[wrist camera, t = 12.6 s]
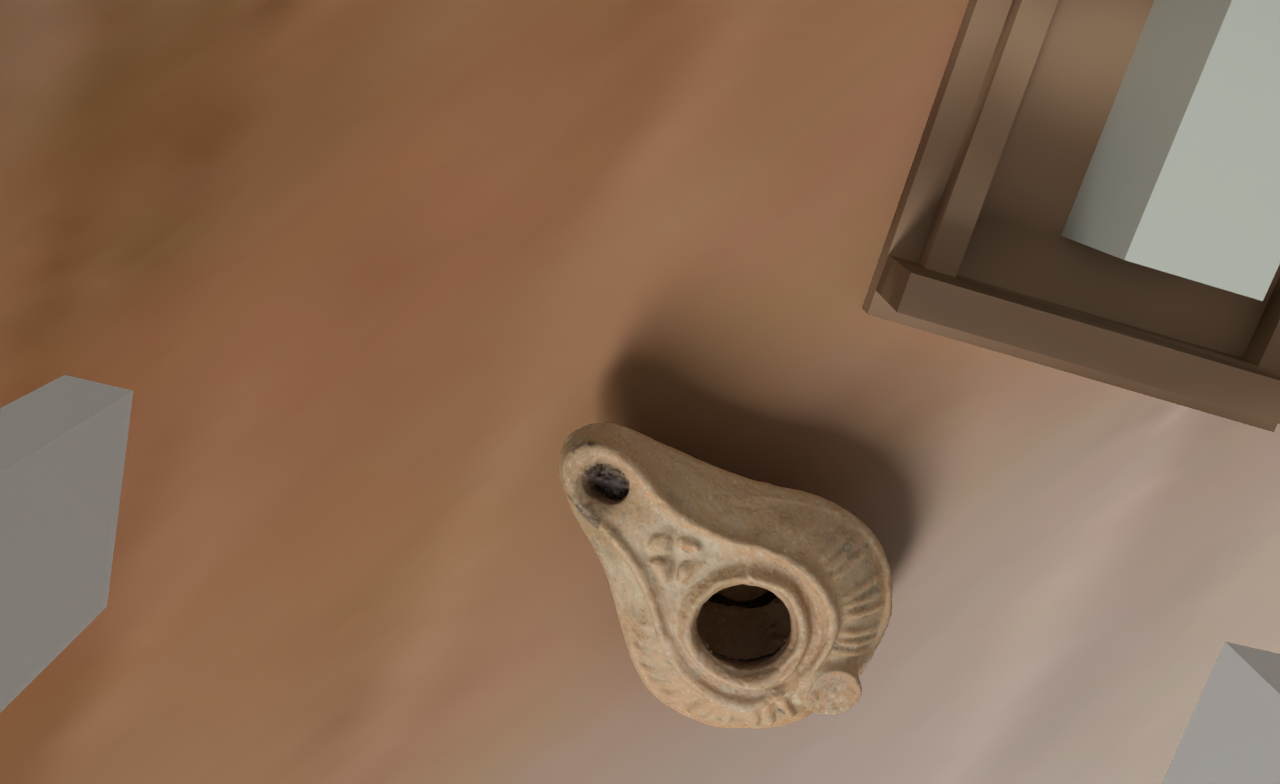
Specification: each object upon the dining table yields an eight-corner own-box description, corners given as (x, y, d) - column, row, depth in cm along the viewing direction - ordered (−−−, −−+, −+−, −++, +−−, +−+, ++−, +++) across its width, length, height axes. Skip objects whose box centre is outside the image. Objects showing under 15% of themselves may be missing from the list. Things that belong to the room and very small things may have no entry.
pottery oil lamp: (658, 326, 36) (778, 384, 30) (827, 537, 42) (955, 620, 36) (468, 516, 35) (554, 616, 29) (671, 705, 41) (777, 820, 35)
